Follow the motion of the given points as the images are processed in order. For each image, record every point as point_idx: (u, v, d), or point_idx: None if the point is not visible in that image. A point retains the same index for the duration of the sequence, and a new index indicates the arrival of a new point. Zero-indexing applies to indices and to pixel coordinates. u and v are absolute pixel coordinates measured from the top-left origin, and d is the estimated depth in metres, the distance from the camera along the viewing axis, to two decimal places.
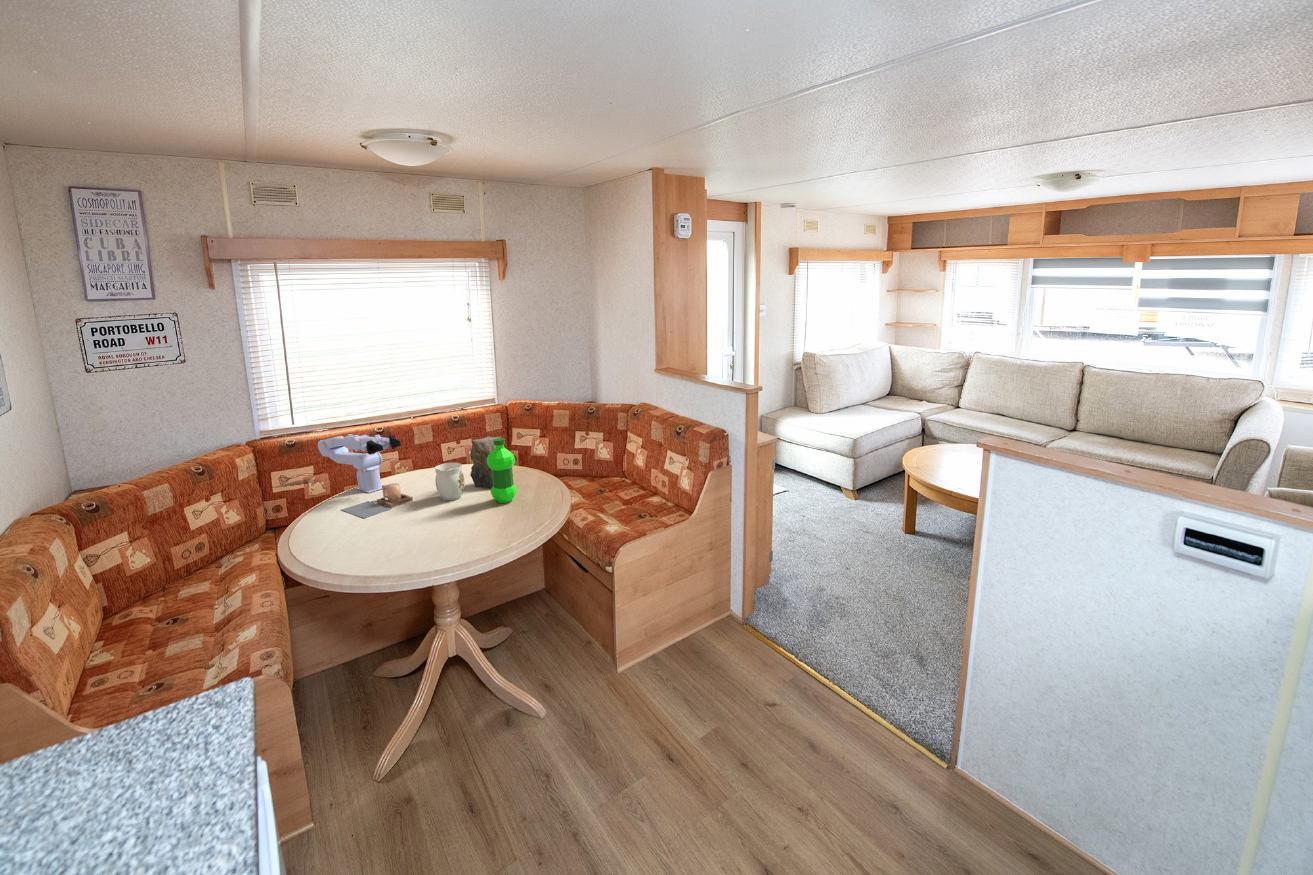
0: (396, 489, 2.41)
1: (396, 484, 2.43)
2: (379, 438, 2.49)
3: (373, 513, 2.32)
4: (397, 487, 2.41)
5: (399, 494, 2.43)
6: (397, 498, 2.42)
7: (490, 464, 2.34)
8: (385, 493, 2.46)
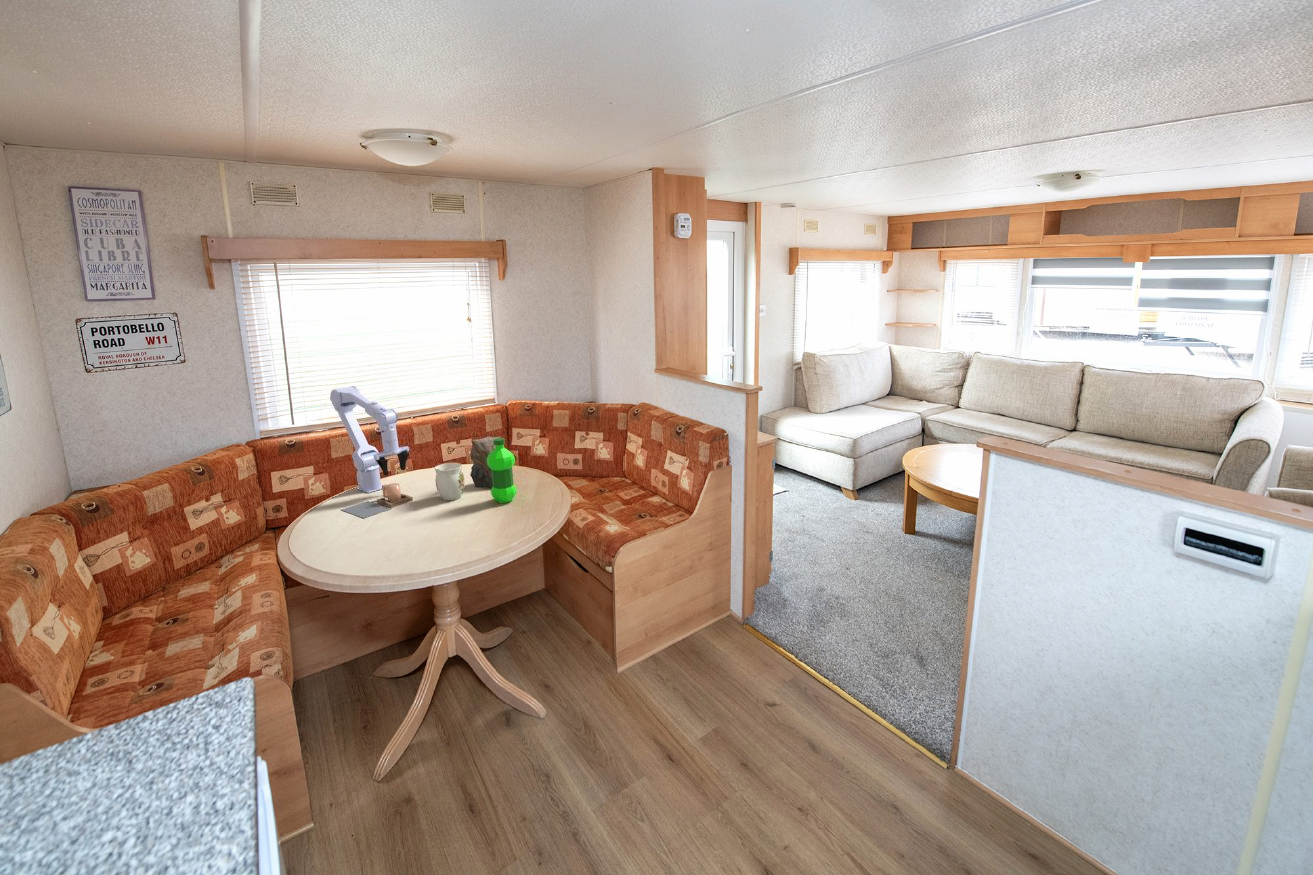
0: (396, 489, 2.41)
1: (396, 484, 2.43)
2: None
3: (373, 513, 2.32)
4: (397, 487, 2.41)
5: (399, 494, 2.43)
6: (397, 498, 2.42)
7: (490, 464, 2.34)
8: (385, 493, 2.46)
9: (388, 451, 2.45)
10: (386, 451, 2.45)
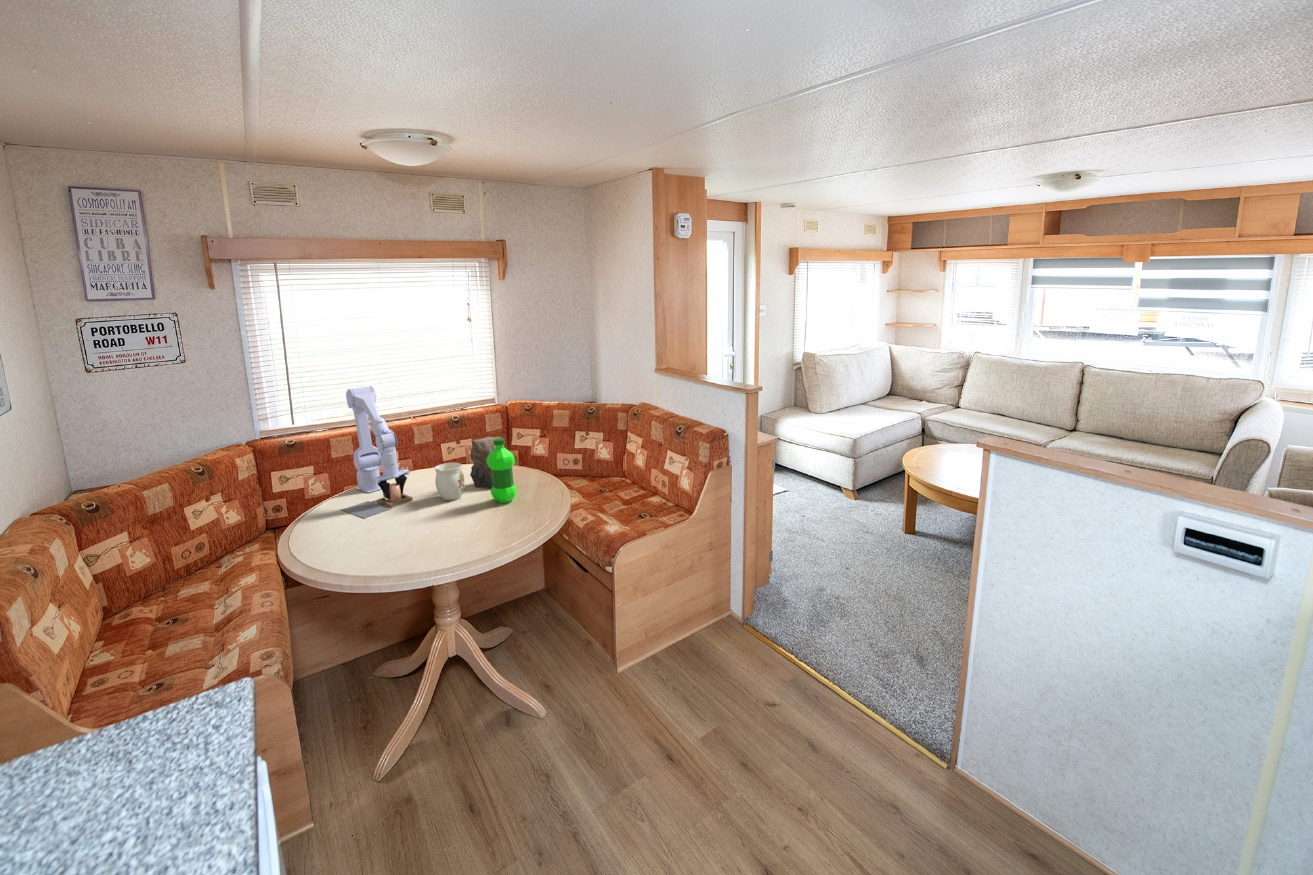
0: (396, 489, 2.41)
1: (396, 484, 2.43)
2: None
3: (373, 513, 2.32)
4: (397, 487, 2.41)
5: (399, 494, 2.43)
6: (397, 498, 2.42)
7: (490, 464, 2.34)
8: None
9: (387, 475, 2.38)
10: (385, 475, 2.38)
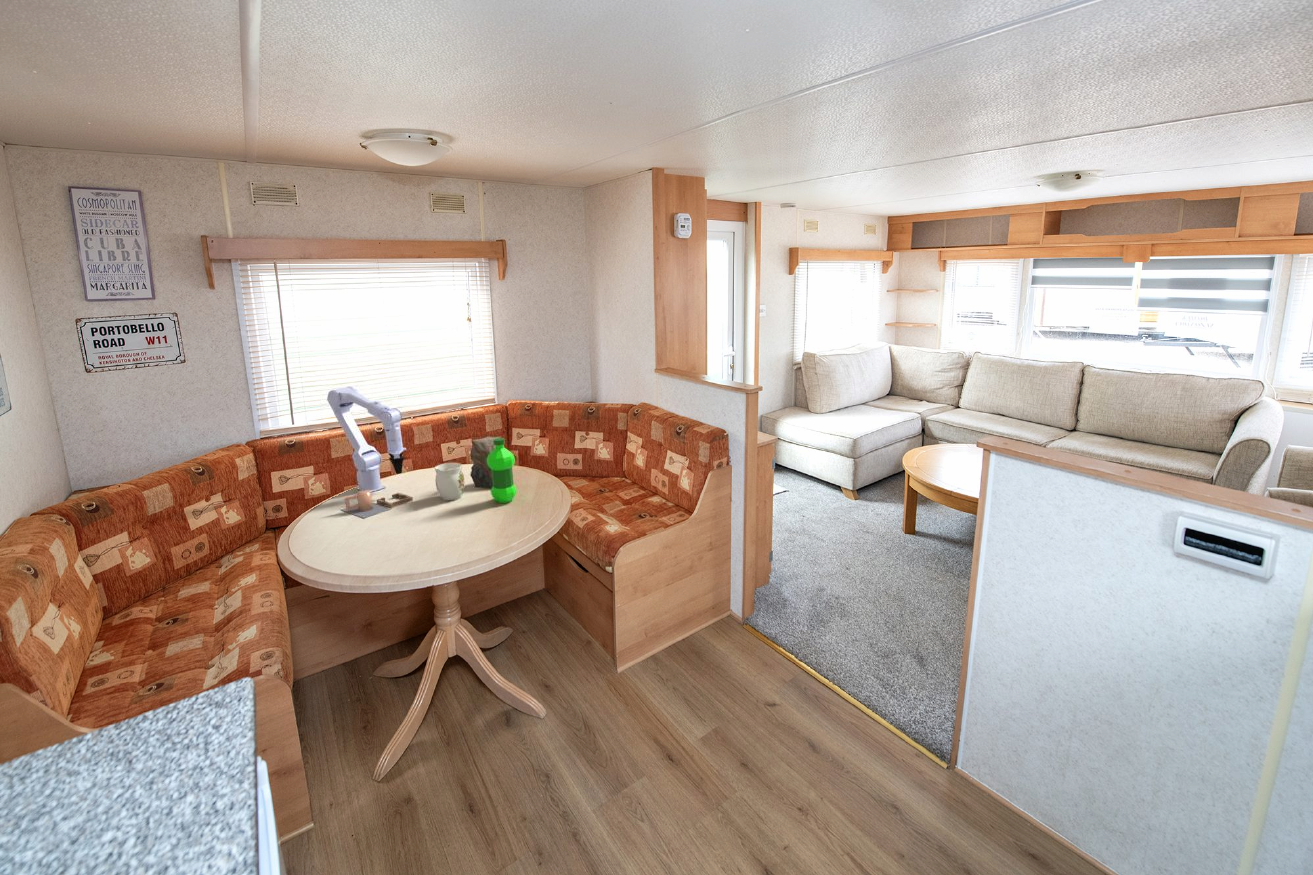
0: None
1: (364, 490, 2.36)
2: None
3: (373, 513, 2.32)
4: (370, 492, 2.36)
5: None
6: (372, 503, 2.37)
7: (490, 464, 2.34)
8: (349, 505, 2.33)
9: (400, 449, 2.48)
10: (398, 449, 2.48)
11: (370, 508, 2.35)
